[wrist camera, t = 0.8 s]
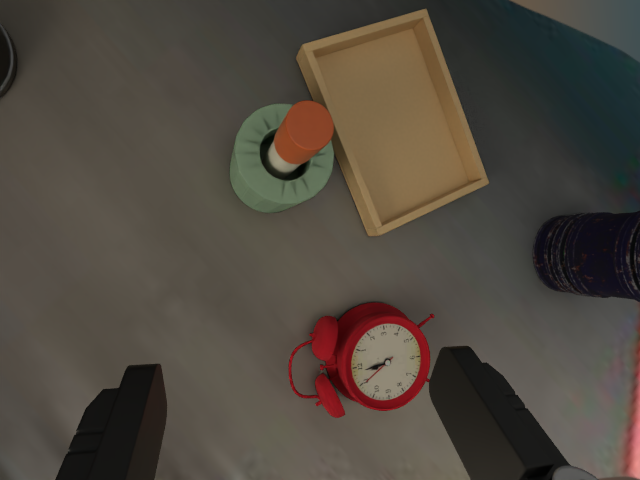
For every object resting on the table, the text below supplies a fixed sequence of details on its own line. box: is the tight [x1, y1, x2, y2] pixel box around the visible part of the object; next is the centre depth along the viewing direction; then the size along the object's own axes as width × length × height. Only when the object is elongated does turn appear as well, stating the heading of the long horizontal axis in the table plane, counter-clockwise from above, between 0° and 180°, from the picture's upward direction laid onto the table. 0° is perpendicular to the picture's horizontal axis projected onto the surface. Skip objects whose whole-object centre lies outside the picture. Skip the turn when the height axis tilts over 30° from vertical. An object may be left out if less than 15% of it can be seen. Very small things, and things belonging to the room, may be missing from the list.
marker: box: [261, 100, 334, 180], centre depth 28 cm, size 3×3×15 cm
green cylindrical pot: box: [229, 104, 334, 213], centre depth 32 cm, size 8×8×8 cm
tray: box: [296, 9, 489, 236], centre depth 38 cm, size 20×15×3 cm
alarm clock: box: [289, 302, 434, 418], centre depth 36 cm, size 10×6×15 cm
